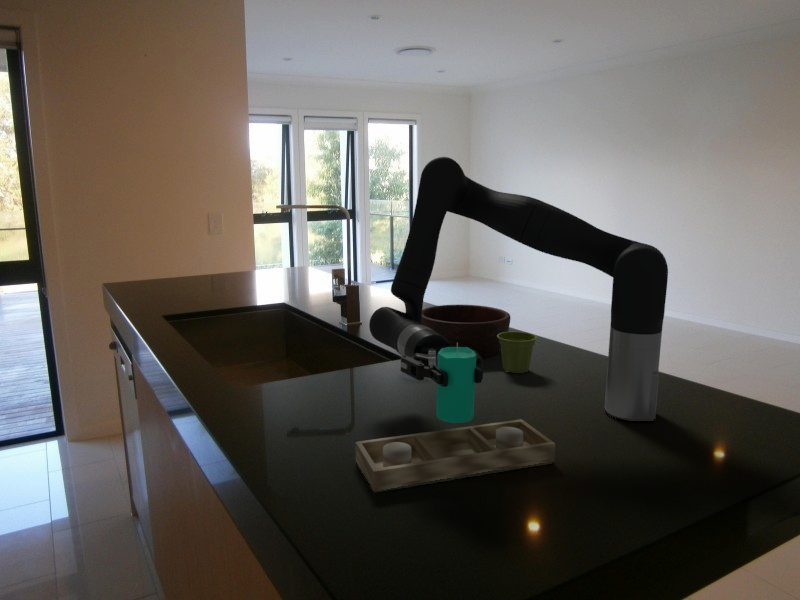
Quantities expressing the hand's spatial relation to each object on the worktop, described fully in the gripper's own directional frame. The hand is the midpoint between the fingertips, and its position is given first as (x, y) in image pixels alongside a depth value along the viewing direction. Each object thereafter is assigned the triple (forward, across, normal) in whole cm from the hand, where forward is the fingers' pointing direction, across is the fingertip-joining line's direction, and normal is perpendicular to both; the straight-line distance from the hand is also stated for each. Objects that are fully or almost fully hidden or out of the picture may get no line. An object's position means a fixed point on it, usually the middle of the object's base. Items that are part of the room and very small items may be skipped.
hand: (462, 378), depth 90 cm
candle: (-3, 0, +7) cm, 8 cm away
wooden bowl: (-65, +30, +16) cm, 73 cm away
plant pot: (-43, +34, +16) cm, 57 cm away
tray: (-2, 0, +15) cm, 15 cm away
